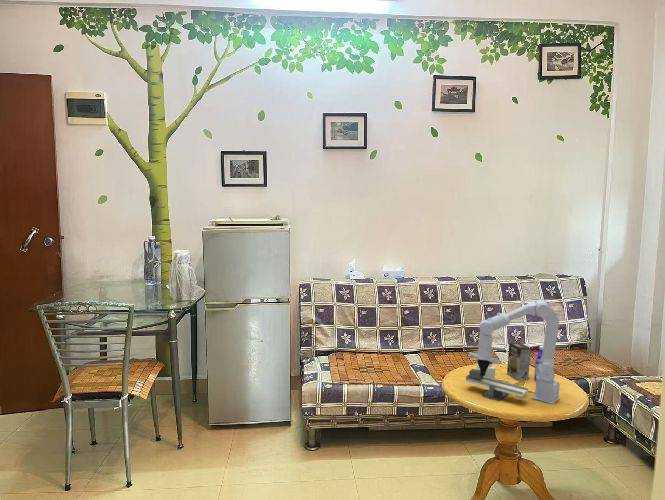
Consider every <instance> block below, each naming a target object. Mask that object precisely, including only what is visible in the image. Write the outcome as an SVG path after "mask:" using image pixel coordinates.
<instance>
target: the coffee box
mask: <svg viewBox="0 0 665 500" xmlns="http://www.w3.org/2000/svg"><path fill="white" fill-rule="evenodd" d="M531 351H532V348H531V347H530V346H528V345H527V344H524V343H522V342H519V341H518V342H509V343H508V355H507V356H508V357H507V368H506V371H507V372H506V374H507V375H508V376H510V377H511V378H513V379H515V380H517V381H526V380H529V374H530V363H531V355H532V354H531V353H532V352H531Z"/></svg>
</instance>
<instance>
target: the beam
mask: <svg viewBox="0 0 665 500" xmlns="http://www.w3.org/2000/svg"><path fill="white" fill-rule="evenodd" d="M502 381H503V380H501V381H498V380H497V379H495V380H494V379H490V378H486V377H483V380H482V381H478V380H475V379H471V378H469V373H468V374H466V375H465V383H469V384H472V385H473V384H474V385H477V386H479V387H480V386H481V387H485V388H488V389H489V386H493V387H494V389H495V390H499V391H502V392H506V393H509V395H510V394H511V395H514V396H515V397H516V400H518V401H523V400H524V399H526V398H527V394H528V393H529V388H528V387H524V386H520V385H517V384H513V383H509V382H505V381H503V382H502Z"/></svg>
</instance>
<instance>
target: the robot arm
mask: <svg viewBox="0 0 665 500" xmlns="http://www.w3.org/2000/svg"><path fill="white" fill-rule="evenodd" d="M526 315H531V316H534V317H535V316H538V317H539V318H542V319H543V321H545V322H546V327H545V331H544V333H545V334H544V340H543V351H542V357H541V358H540V362H539V364H538V365H537V371H538V372H539V374H538V375H537V377H536V380H535V391H534V395H532V396H531V399H533V400H537V401H539V402H544V403H548V404H550V405H554V404H555V403H556V402H557V401H559V399H560V398H559V397H560V382H559V381H556V380H555V376H556V373H555V370H554V368H555V363H554V359H555V358H554V357H555V354H556V353H555V352H556V347H557V346H556V345H557V339H558V332H559V326H560V319H559V317H558V316H557V313H556V312H555V310H554V308H553V306H552V305H551V304H550V303H549V302H548V301H546V299H544V298H538V299H536V300H533V301H530V302H528V303H526V304H524V305H522V306H520V307H517V308H516V309H514V310H512V311H510V312H508V313H505V312H501V313H500V312H497V313H496V315H495V316H492V317H488V318H487V319H483V320H480V323H479V325H478V327H479V332H478V333H479V336H478V345H477V346H478V349H477V352H471V351H470V352H468V358H470V359H471V358H473V359H477V360H476V361H477V362H476V364H477V363H478V365H479V368H480V371H481V376H485V373H486V370H487V368H488V366H489V364H490V363H491V362H492V363H493V364H496V365H498V366H499V365H500V364H501V359H500V358H497V357H495V356H492V346H493V344H492V343H493V336H492V335H493V333H494V331H497V330H499V329H502V328H504V327H507V326H509V325H510V322H511V321H514V320H516V319H518V318H521V317H524V316H526Z"/></svg>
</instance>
